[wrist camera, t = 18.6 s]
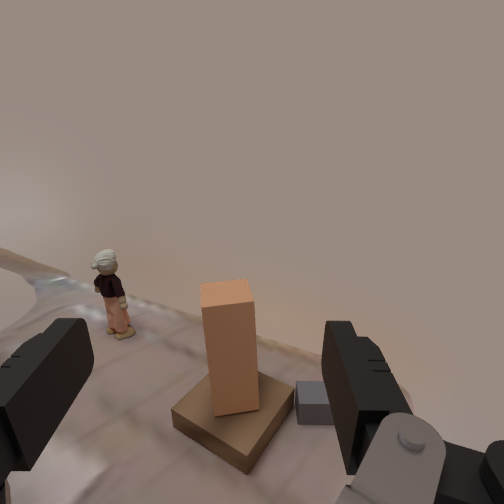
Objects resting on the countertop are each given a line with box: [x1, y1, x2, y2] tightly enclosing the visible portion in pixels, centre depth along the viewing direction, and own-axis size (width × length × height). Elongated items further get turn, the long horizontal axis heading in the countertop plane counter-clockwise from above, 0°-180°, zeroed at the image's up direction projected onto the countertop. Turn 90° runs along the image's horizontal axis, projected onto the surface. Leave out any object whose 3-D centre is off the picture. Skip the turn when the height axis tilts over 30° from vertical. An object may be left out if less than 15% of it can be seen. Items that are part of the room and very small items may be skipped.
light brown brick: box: [201, 279, 260, 417], centre depth 32 cm, size 4×4×12 cm
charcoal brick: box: [295, 381, 335, 425], centre depth 35 cm, size 3×6×3 cm, turn 89°
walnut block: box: [171, 372, 294, 475], centre depth 35 cm, size 9×9×3 cm
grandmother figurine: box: [91, 249, 135, 339], centre depth 46 cm, size 8×4×13 cm, turn 62°
